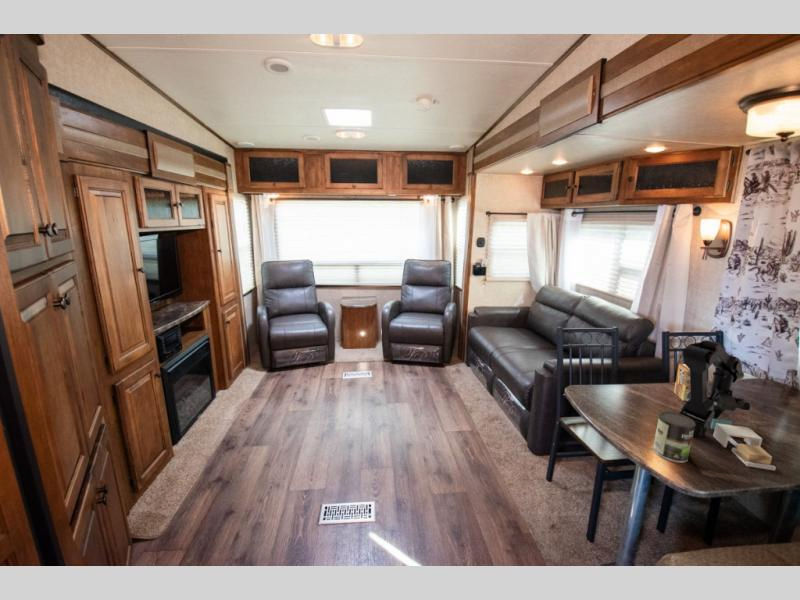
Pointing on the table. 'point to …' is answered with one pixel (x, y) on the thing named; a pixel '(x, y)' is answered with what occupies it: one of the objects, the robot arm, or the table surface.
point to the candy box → (682, 382)
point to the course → (736, 434)
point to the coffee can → (673, 436)
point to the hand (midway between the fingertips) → (713, 419)
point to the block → (753, 454)
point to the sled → (737, 447)
